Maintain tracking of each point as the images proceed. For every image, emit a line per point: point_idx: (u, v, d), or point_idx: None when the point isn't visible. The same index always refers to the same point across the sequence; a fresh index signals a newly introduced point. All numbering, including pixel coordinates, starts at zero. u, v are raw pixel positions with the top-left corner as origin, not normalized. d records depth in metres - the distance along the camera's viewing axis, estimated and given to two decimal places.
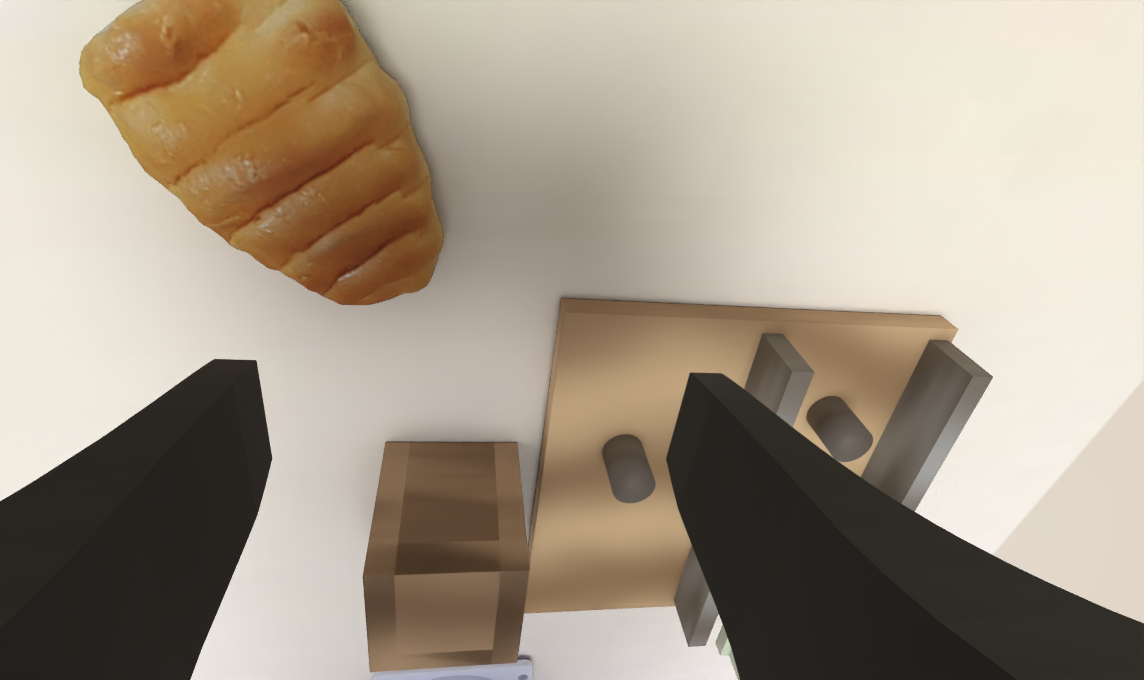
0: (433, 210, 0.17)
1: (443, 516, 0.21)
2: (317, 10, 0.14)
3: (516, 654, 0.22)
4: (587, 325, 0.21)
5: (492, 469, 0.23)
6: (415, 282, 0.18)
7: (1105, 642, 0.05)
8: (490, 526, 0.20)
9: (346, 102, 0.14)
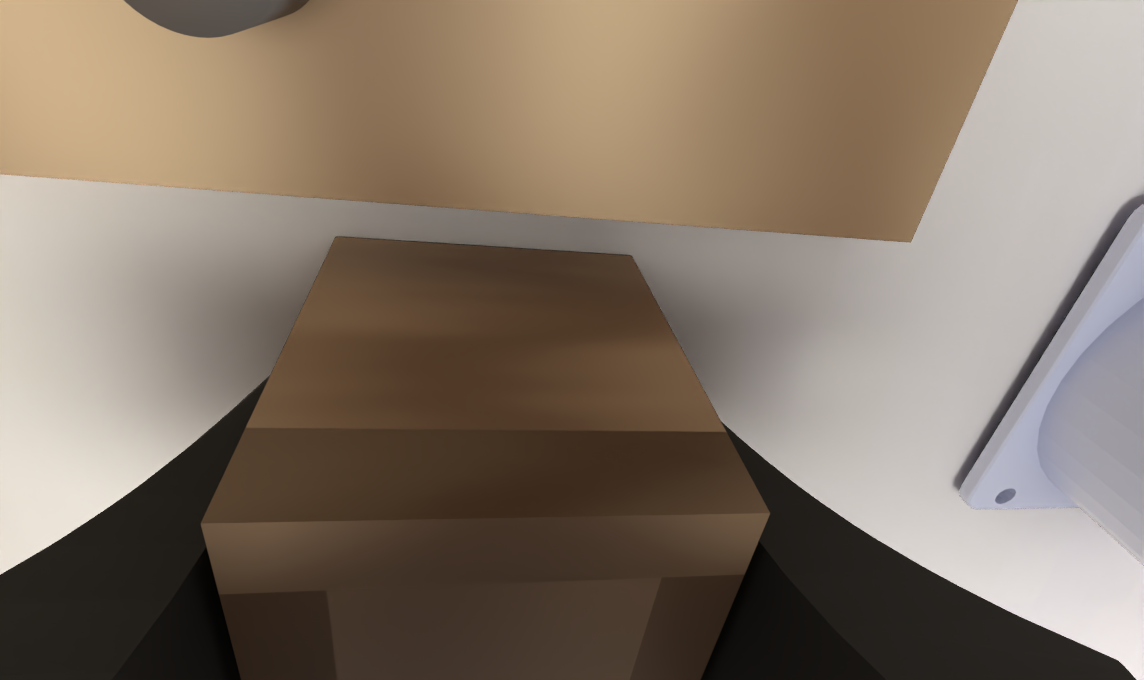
0: None
1: None
2: None
3: (719, 517, 0.06)
4: None
5: None
6: None
7: (1003, 650, 0.05)
8: None
9: None
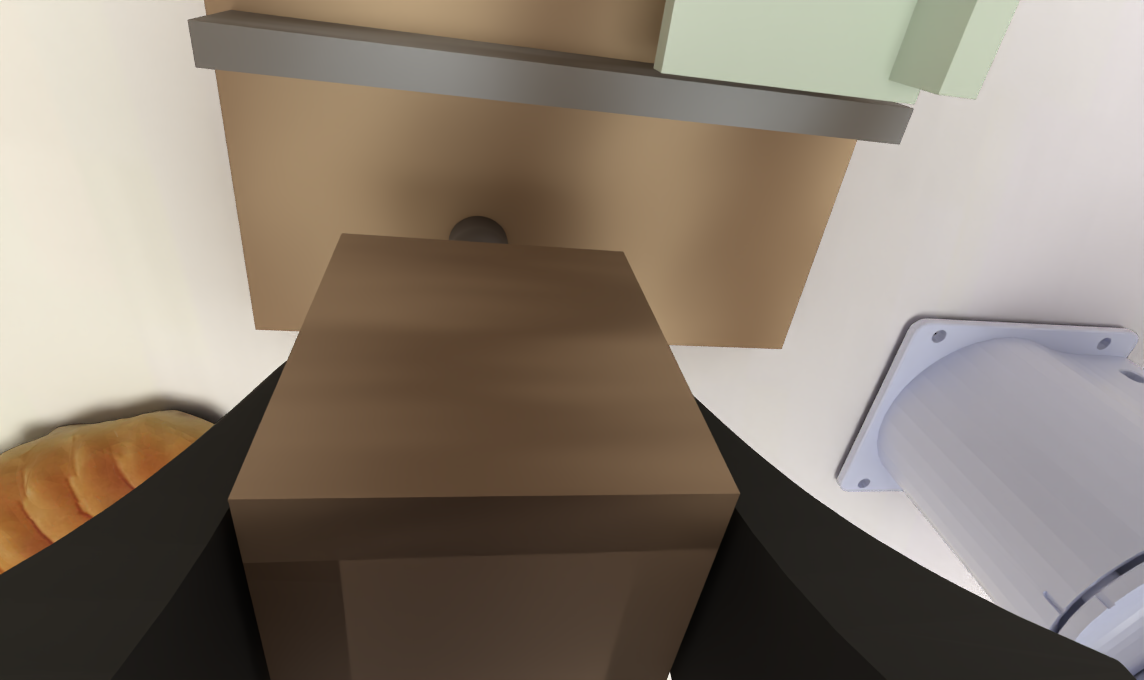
0: (109, 432, 0.18)
1: None
2: None
3: (693, 497, 0.06)
4: (269, 304, 0.17)
5: None
6: None
7: (1002, 649, 0.05)
8: None
9: None
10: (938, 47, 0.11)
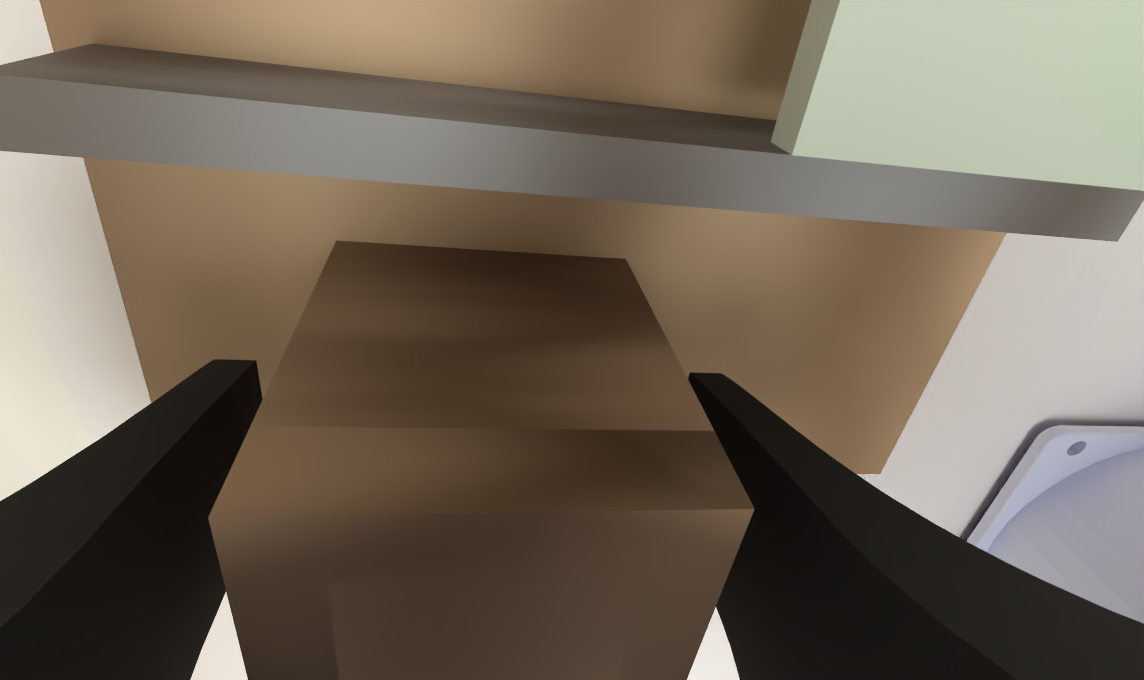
0: None
1: None
2: None
3: (705, 513, 0.06)
4: None
5: None
6: None
7: (1106, 642, 0.05)
8: None
9: None
10: None
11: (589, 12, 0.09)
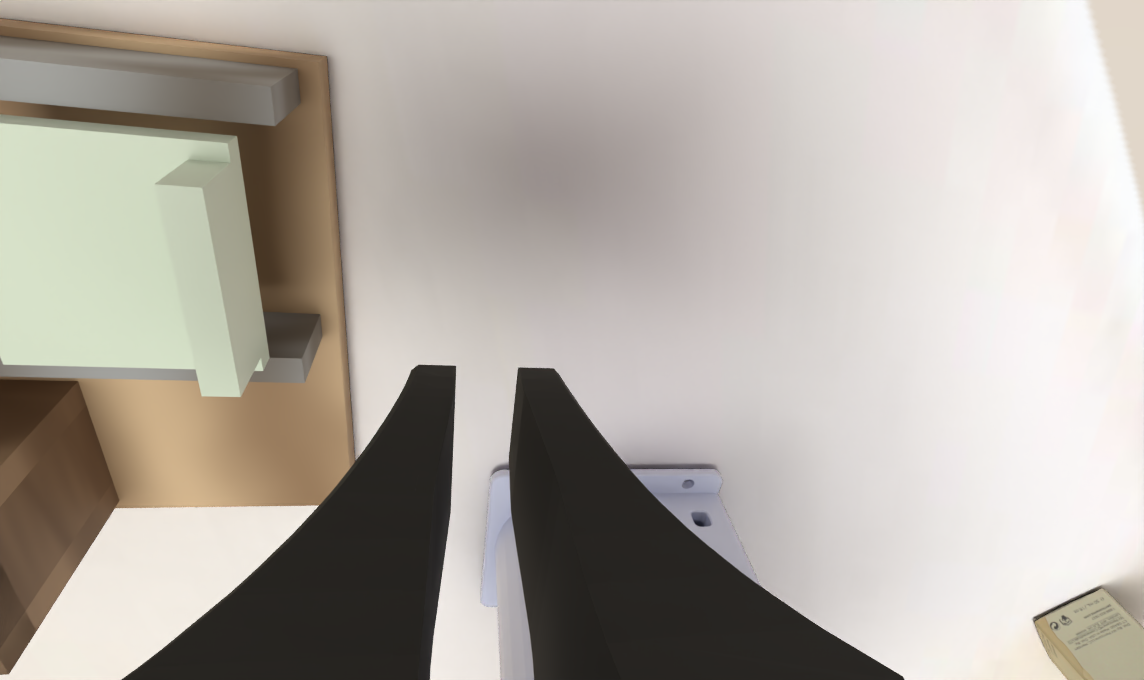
0: None
1: None
2: None
3: None
4: None
5: None
6: None
7: (781, 665, 0.05)
8: None
9: None
10: None
11: None
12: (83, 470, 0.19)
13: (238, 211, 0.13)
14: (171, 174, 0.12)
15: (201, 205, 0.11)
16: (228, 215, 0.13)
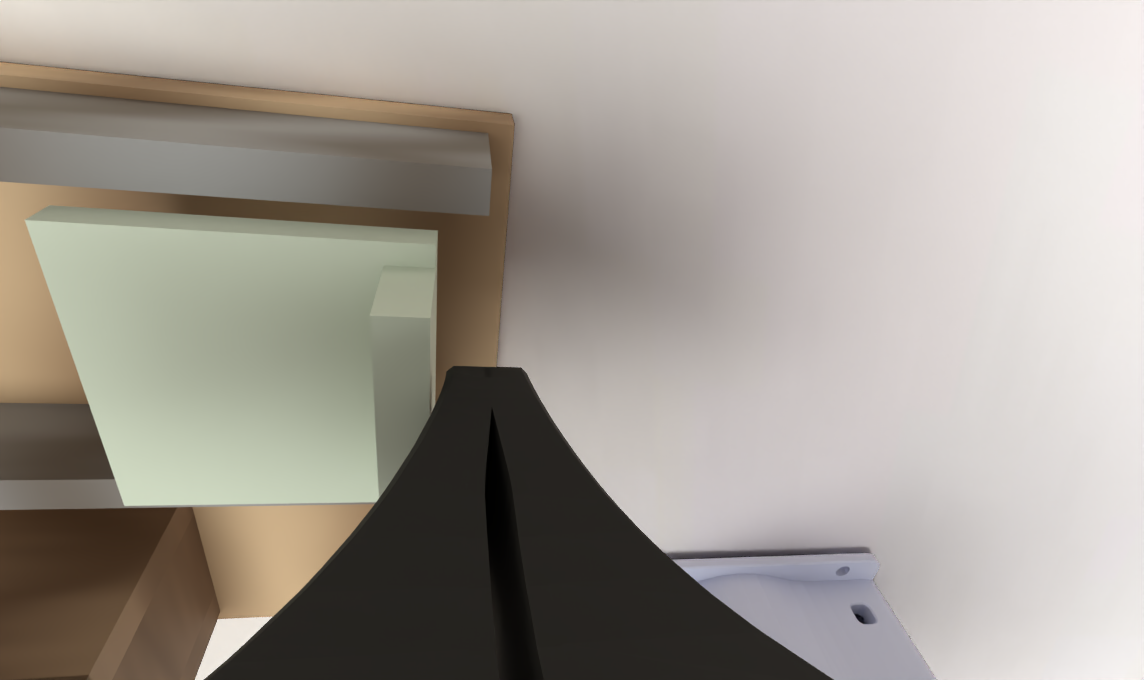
0: None
1: None
2: None
3: None
4: None
5: None
6: None
7: (714, 669, 0.05)
8: None
9: None
10: None
11: None
12: (190, 590, 0.16)
13: (435, 325, 0.10)
14: (380, 295, 0.09)
15: (425, 339, 0.09)
16: (433, 336, 0.10)
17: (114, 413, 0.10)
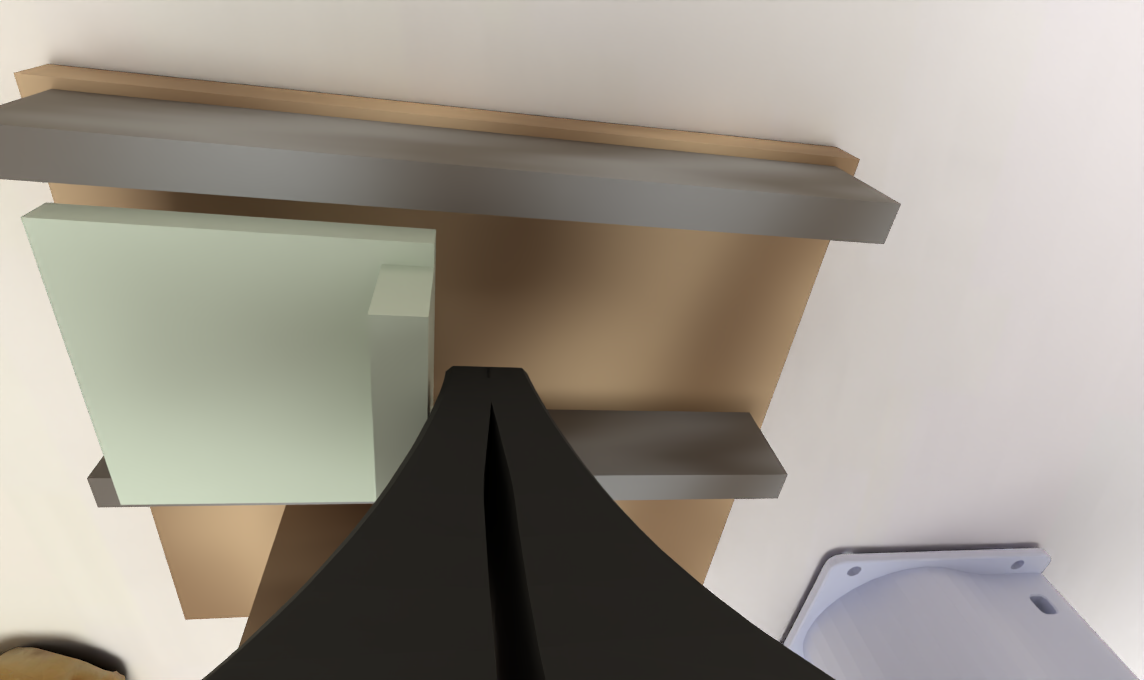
0: None
1: None
2: None
3: None
4: (197, 601, 0.18)
5: None
6: None
7: (715, 670, 0.05)
8: None
9: None
10: None
11: (442, 368, 0.15)
12: None
13: (432, 324, 0.10)
14: (378, 294, 0.09)
15: (423, 337, 0.09)
16: (431, 335, 0.10)
17: (111, 412, 0.10)
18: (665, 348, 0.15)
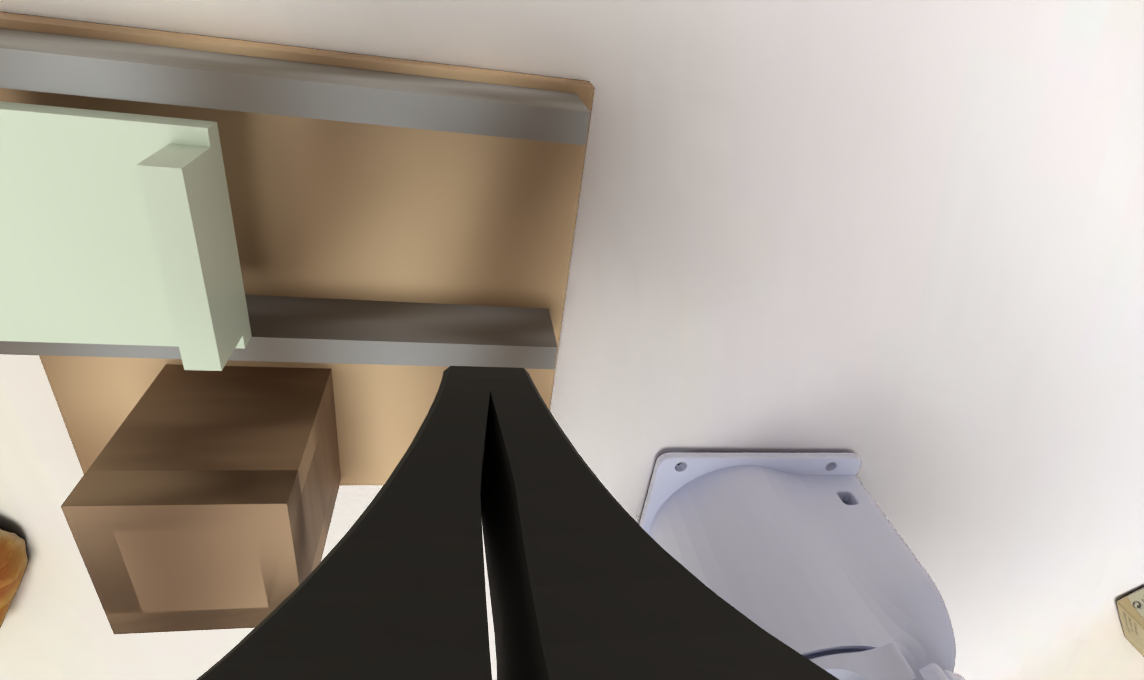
0: None
1: None
2: None
3: (265, 505, 0.15)
4: None
5: None
6: None
7: (718, 667, 0.05)
8: None
9: None
10: None
11: (278, 261, 0.18)
12: (331, 449, 0.21)
13: (218, 193, 0.14)
14: (153, 156, 0.12)
15: (181, 185, 0.12)
16: (208, 196, 0.13)
17: None
18: (464, 248, 0.19)
